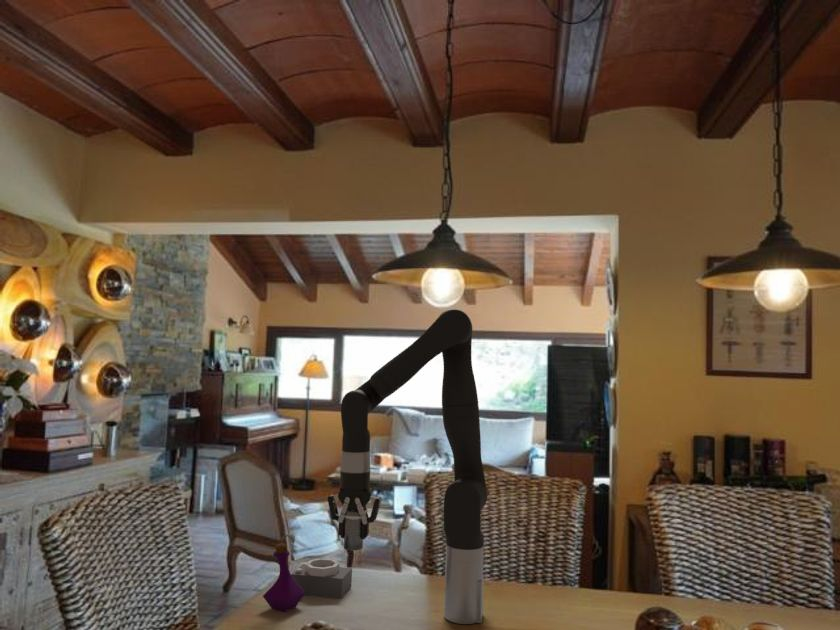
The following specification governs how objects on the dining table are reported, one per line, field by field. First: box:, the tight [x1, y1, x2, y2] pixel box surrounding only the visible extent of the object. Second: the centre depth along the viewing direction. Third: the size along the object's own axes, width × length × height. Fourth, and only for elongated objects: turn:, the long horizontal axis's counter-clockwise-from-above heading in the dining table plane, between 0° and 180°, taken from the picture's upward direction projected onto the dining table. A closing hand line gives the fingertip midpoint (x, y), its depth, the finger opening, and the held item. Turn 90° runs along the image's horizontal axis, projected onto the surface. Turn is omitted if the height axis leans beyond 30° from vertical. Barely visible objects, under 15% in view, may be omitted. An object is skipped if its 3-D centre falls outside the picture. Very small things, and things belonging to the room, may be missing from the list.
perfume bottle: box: [262, 533, 306, 613], centre depth 158 cm, size 8×8×18 cm
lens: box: [343, 510, 364, 551], centre depth 160 cm, size 5×5×9 cm
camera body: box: [290, 557, 353, 599], centre depth 170 cm, size 14×9×7 cm, turn 80°
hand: (353, 537), depth 160 cm, fingers closed on lens, 4 cm apart
